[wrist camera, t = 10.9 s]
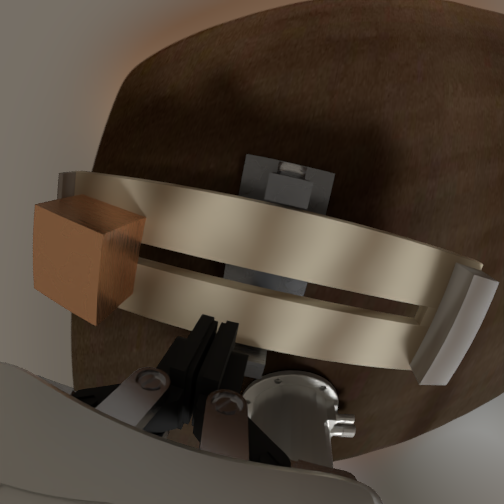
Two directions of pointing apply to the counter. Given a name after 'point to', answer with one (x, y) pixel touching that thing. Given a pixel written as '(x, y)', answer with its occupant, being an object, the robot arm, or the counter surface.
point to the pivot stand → (288, 194)
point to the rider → (86, 254)
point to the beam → (298, 277)
